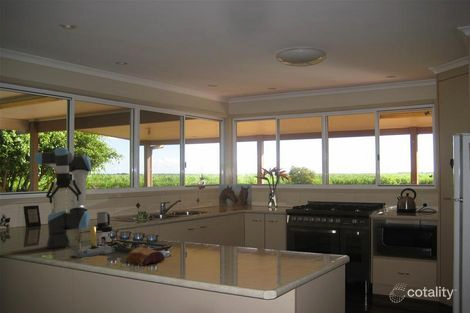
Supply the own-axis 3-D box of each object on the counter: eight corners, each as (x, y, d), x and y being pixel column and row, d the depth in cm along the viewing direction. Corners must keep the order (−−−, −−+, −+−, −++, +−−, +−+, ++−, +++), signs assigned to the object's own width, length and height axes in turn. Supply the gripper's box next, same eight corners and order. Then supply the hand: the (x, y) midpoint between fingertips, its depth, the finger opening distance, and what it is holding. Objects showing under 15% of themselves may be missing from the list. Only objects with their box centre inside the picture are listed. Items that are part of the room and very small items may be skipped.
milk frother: (106, 230, 378) (105, 212, 379) (87, 231, 379) (87, 213, 379) (111, 227, 393) (110, 210, 393) (93, 228, 393) (92, 211, 393)
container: (110, 247, 291) (109, 226, 291) (99, 247, 292) (98, 227, 293) (116, 244, 298) (115, 225, 299) (105, 245, 300) (104, 225, 300)
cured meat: (146, 255, 257) (145, 243, 257) (172, 260, 239) (171, 247, 239) (118, 261, 245) (117, 249, 245) (142, 267, 227) (141, 253, 227)
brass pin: (90, 254, 270) (89, 227, 270) (96, 253, 272) (94, 226, 272) (92, 254, 267) (90, 227, 268) (97, 253, 269) (96, 227, 269)
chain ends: (73, 255, 268) (72, 249, 268) (110, 250, 279) (110, 244, 280) (76, 258, 259) (76, 251, 259) (115, 252, 271) (114, 246, 271)
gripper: (41, 174, 267) (43, 210, 267) (85, 171, 280) (87, 205, 280) (39, 174, 273) (41, 209, 273) (82, 171, 286) (83, 205, 286)
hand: (64, 207), depth 277 cm, fingers open, 13 cm apart
